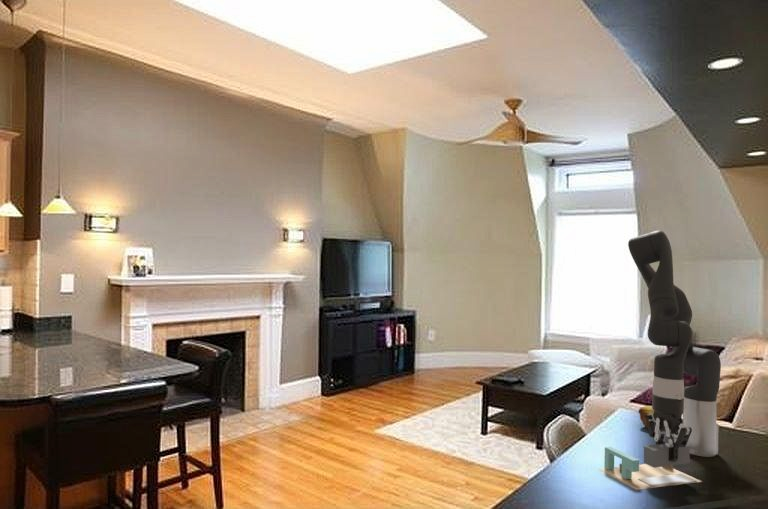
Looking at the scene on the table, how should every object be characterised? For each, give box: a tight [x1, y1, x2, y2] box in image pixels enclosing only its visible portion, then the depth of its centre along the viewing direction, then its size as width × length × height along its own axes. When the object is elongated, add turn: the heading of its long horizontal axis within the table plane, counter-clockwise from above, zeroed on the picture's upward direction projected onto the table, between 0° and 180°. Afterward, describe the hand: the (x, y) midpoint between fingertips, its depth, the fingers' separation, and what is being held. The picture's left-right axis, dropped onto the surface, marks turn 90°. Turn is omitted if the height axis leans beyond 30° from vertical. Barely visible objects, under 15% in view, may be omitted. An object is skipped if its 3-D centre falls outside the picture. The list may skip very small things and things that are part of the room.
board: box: [598, 462, 703, 491], centre depth 144 cm, size 22×14×3 cm, turn 108°
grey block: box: [643, 441, 691, 468], centre depth 141 cm, size 12×4×4 cm, turn 107°
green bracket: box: [603, 446, 640, 479], centre depth 143 cm, size 2×10×6 cm, turn 18°
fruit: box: [637, 405, 654, 429], centre depth 193 cm, size 8×8×8 cm
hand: (666, 458), depth 141 cm, fingers closed on grey block, 3 cm apart
